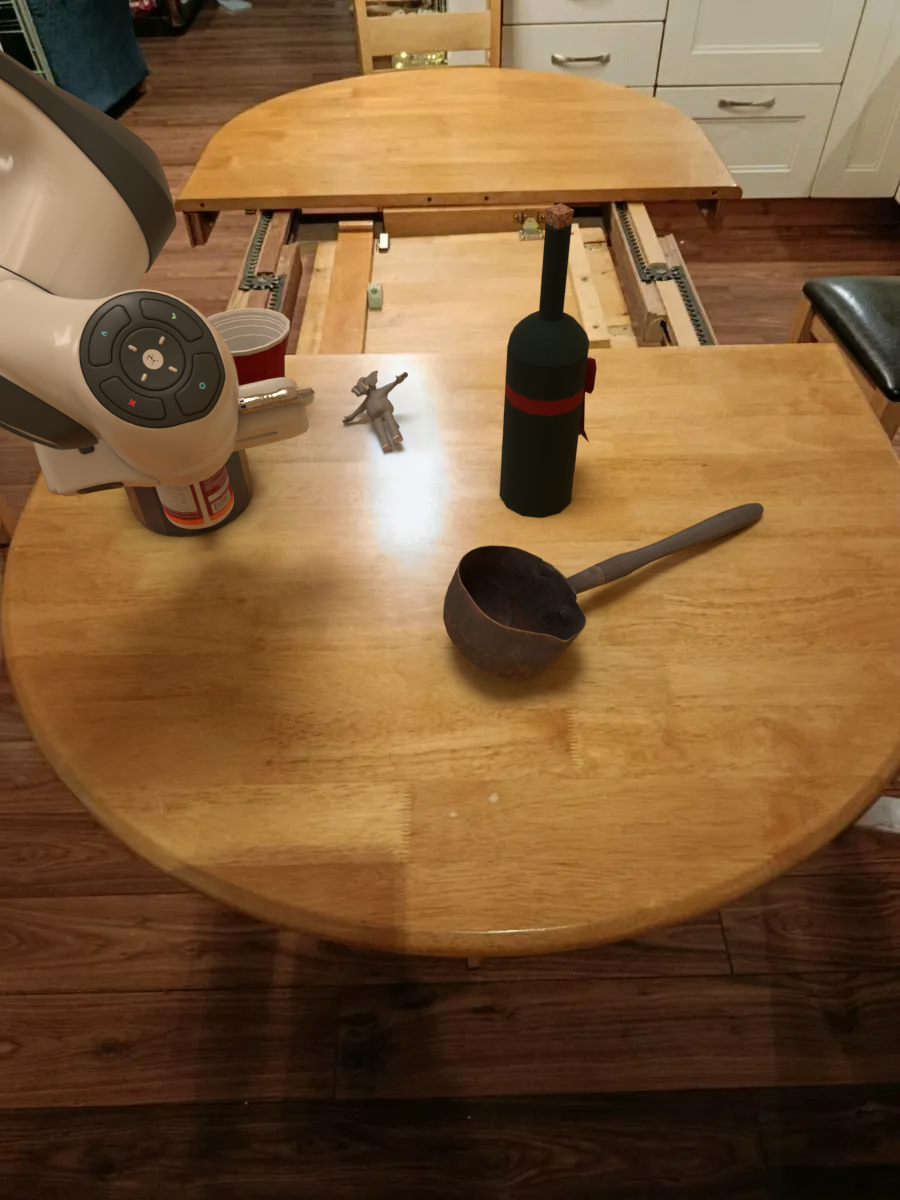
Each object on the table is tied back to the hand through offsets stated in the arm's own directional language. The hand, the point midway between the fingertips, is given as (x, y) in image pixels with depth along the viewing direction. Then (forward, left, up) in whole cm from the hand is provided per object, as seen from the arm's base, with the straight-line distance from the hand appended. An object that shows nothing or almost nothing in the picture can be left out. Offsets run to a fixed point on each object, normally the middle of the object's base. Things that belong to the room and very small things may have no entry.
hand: (182, 452), depth 72 cm
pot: (0, +13, -15) cm, 20 cm away
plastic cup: (+10, +24, -15) cm, 30 cm away
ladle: (+35, -17, -15) cm, 42 cm away
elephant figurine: (+23, +16, -15) cm, 32 cm away
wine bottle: (+35, -1, -15) cm, 38 cm away
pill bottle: (0, -1, -6) cm, 6 cm away
